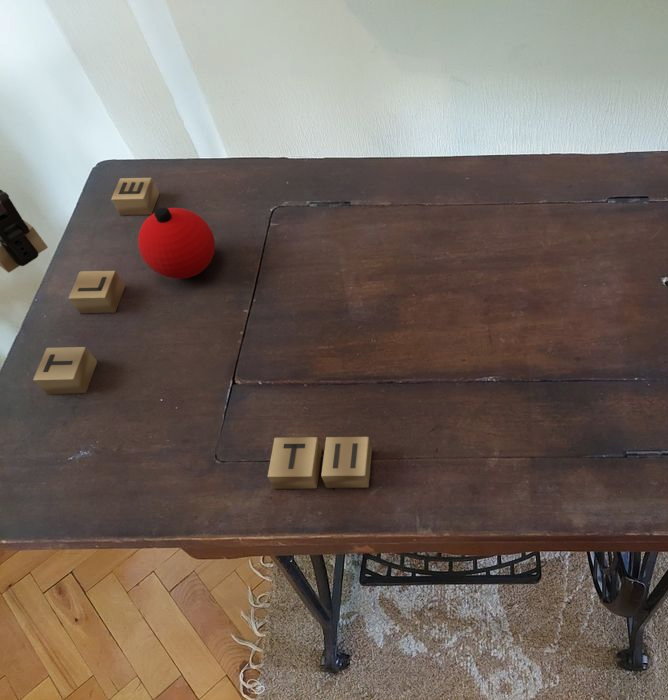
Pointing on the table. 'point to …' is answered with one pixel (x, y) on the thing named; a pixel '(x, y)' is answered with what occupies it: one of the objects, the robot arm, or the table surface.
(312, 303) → the table surface
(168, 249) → the ornament
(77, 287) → the letter l tile
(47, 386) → the letter t tile
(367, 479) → the near tile
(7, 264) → the tile
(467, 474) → the table surface
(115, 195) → the far tile
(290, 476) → the near tile
